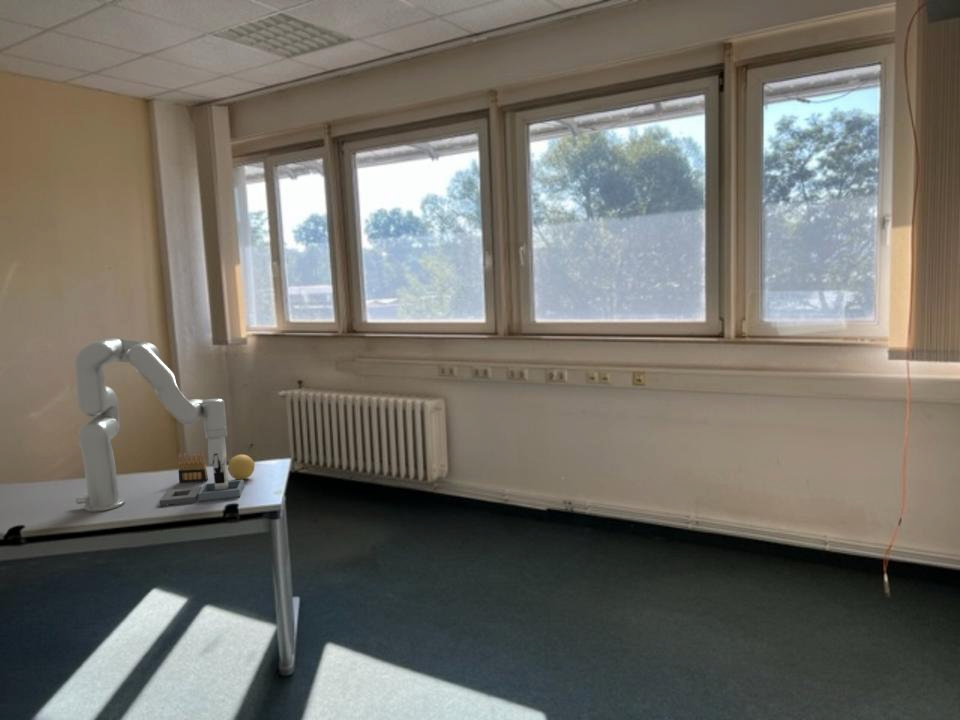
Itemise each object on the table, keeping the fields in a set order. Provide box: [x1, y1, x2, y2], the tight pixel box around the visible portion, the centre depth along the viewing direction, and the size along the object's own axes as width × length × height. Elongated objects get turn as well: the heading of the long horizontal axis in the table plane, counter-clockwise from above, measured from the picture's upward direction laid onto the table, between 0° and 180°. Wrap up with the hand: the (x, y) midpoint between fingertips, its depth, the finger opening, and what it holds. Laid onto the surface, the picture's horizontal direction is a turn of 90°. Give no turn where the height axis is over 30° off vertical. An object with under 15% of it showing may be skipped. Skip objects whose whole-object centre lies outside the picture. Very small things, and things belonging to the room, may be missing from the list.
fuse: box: [212, 459, 229, 490], centre depth 240 cm, size 4×4×10 cm
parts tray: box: [198, 479, 245, 503], centre depth 241 cm, size 14×12×3 cm
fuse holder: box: [158, 486, 203, 506], centre depth 238 cm, size 12×12×2 cm
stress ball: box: [227, 454, 255, 480], centre depth 258 cm, size 10×10×10 cm
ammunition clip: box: [177, 451, 209, 484], centre depth 258 cm, size 11×2×12 cm, turn 91°
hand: (220, 480), depth 241 cm, fingers closed on fuse, 4 cm apart
